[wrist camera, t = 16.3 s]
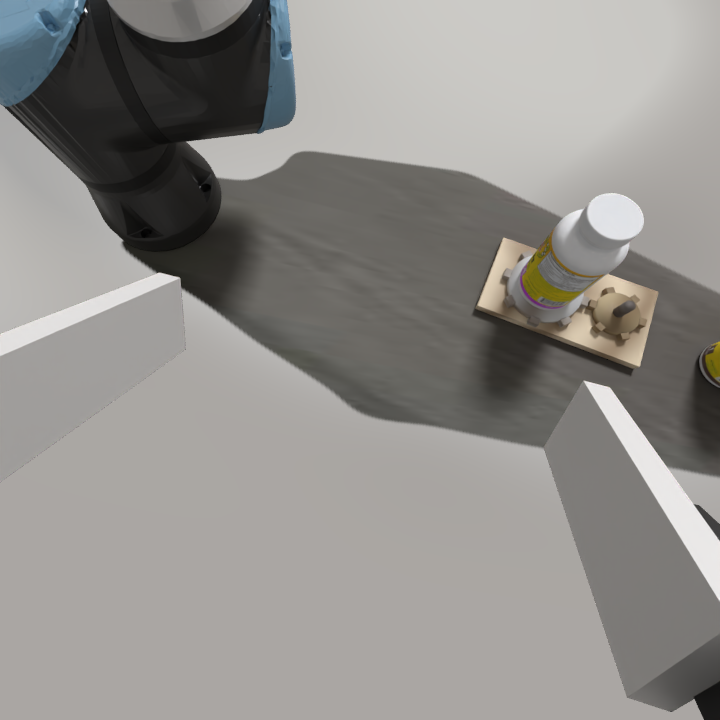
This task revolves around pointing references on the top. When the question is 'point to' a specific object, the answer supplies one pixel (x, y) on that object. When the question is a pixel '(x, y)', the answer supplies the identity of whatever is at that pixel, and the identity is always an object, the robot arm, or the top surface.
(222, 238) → the top surface
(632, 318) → the gear board
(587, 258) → the supplement bottle
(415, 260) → the top surface
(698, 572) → the robot arm
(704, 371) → the supplement bottle
